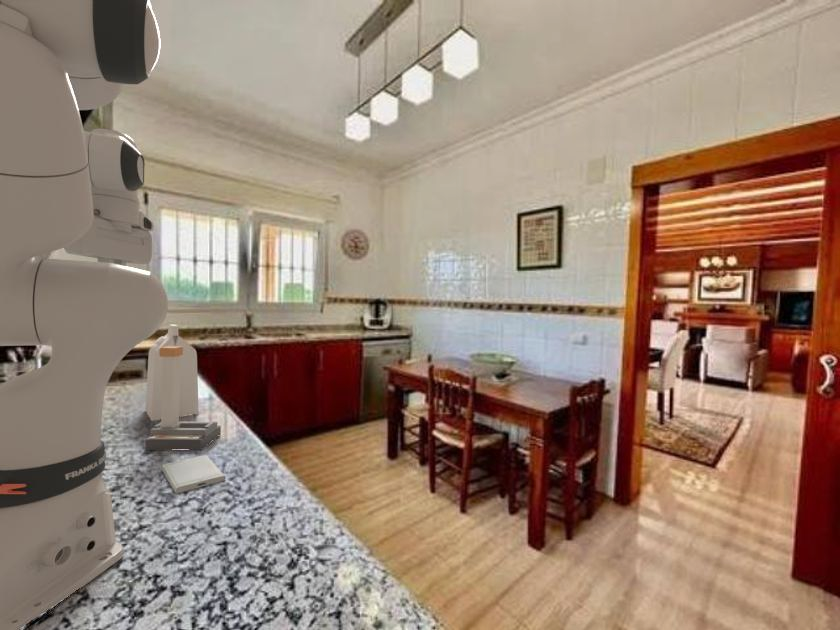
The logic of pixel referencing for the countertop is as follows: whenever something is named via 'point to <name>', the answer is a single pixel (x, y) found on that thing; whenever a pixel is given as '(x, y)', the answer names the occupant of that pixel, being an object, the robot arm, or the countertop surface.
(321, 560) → the countertop surface
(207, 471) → the hard drive
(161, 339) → the milk
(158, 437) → the switch base
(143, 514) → the countertop surface
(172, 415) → the grey and orange bar
